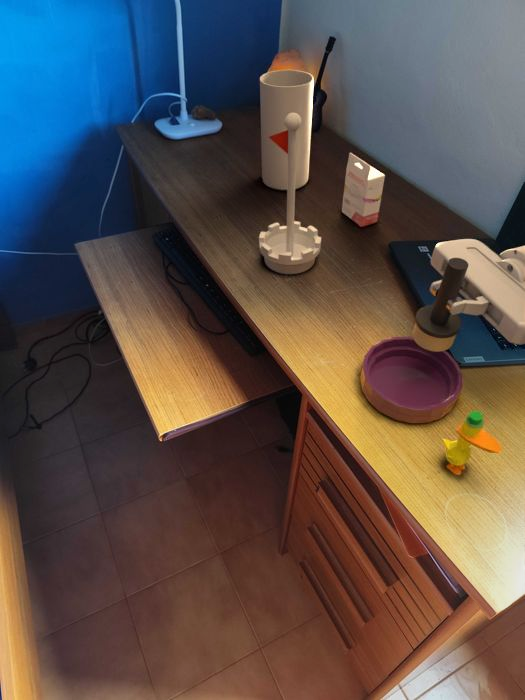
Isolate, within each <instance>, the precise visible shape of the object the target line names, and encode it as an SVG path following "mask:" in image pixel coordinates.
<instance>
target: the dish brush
mask: <svg viewBox="0 0 525 700" xmlns="http://www.w3.org/2000/svg"><path fill="white" fill-rule="evenodd" d="M468 266H469V265H468V262H467V261H465V260H464V259H461V258H451V259H449V260H448V263H447V266H446V269H445V272H444V275H443V276H442V278H441V280H442V281H441V285H440V288H439V291H438V294H437V297H435V300H434V303H433V304H429V305H424V306H423V307H421V308H420V309H418V311H417V312H416V316H415V324H414V327H413V331H412V337H413V339H414V341H415V342H416V343H417V344H418V345H419V346H421V347H422V348H424V349H426V350H430V351H436V352H439V351H444V350H445V351H447V350H449V349H450V348H451V347H452V346H453V344H454V341H455V340H456V337H457V335H458V334H459V332H460V331H461V328H462V324H463V321H462V318H461V317H460V315H459V313H458V314H455V315H452V314H451V313H450V312H449V311H448V310H447V309H446V305H447V302H448V300H450V299H452V298H453V299H455V298H456V297H459V294H460V293H459V290H460V288H461V285H462V282H463V280H464V277H465V274H466V271H467V269H468Z"/></svg>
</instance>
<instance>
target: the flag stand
mask: <svg viewBox="0 0 525 700" xmlns="http://www.w3.org/2000/svg"><path fill="white" fill-rule="evenodd" d="M284 123H285V127H286V128H287V129H288V130H286V131H283V132H281V133H278V134H275V135H272V136H270V137H269V138H270V139H271V140H272V141H273V142H274V143H276V144H277V145H278V146H279V147H280V148H281V149H282V150H284V151H285V152H286V153H287V154H288V179H287V190H286V225H280V223H279V222H278V221H277V222H274V223H272V224H269V225H268V226H267V230H266V231H260V233H259V236H258V247H259V252H260V254H261V256H263V257H264V263H265V265H266V266H267V267H268V268H269V269H270V270H272V271H273V272H276V273H279V274H284V275H295V274H300V273H304V272H306V271H308V270H310V269H311V268H312V267H313V266H314V264H315V260H316V257H318V255H319V254H320V252H321V246H322V236H319V230H318V229H317V228H316V227H314V226H313V225H308V226H307V227H305V226H304V227H303V226H301V225H302V223H301V221H296V220H295V211H296V210H295V204H296V189H295V178H296V146H297V130H298V129H299V128H300V126H301V118H300V116H299V115H298V114H297V113H290V114H288V115H287V116H286V118H285V122H284Z"/></svg>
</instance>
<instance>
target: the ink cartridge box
mask: <svg viewBox="0 0 525 700" xmlns="http://www.w3.org/2000/svg"><path fill="white" fill-rule="evenodd" d="M385 178H386V175H385V174H384V173H382V172H380V171H379V170H377V169H376V168H375V167H373V166H371V165H370V164H368V163H367V162H366V161H365V160H362V159H361V158H359V157H358V156H357V155H355V154H353V153H352V152H349V154H348V159H347V165H346V170H345V179H344V186H343V187H344V188H343V197H342V205H341V206H342V207H341V212H342V214H344V215H345V216H346V217H348V218H349V219H350V220H352V221H353V222H354V223H356V225H358V226H359V227H361V228H363V227H366V226H369V225H372V224H375V223H378V219H379V213H380V208H381V202H382V195H383V189H384V183H385Z"/></svg>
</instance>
